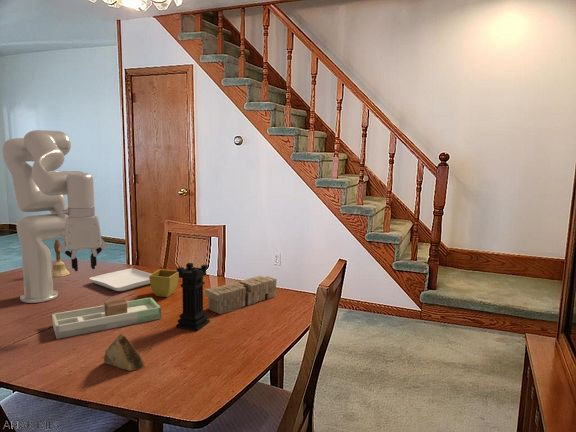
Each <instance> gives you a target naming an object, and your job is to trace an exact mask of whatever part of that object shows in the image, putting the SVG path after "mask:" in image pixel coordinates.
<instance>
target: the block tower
mask: <svg viewBox="0 0 576 432" xmlns="http://www.w3.org/2000/svg"><path fill="white" fill-rule="evenodd" d="M277 280H278V279H277V278H275V277H271V276H268V275H267V276H263V275H257V276H254V277H250V278H246V279H243V280H239V282H237V281H234V282H230V283H226V284H223V285H221V286H220V285H219V286H216V287H213V288H205V290H204V297H206V298H207V297H208V302H207V303H208V305H207V307H208V310H210V311H212V312H213V313H214V312H215V313H217V314H218V315H222V314H226V313H228V312H233V311H235V310H238V309H240V307H241V308H245V307H246V306H250V304H251V305H253V304H256V302H257V303H259V302H258V301H260V302H263V301H262V300H264V301H266V300H269V299H268V298H270V299H272V297H273V298H276V297H277ZM275 296H276V297H275ZM266 298H267V299H266ZM246 304H247V305H246ZM244 306H245V307H244ZM232 310H233V311H232Z"/></svg>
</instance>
